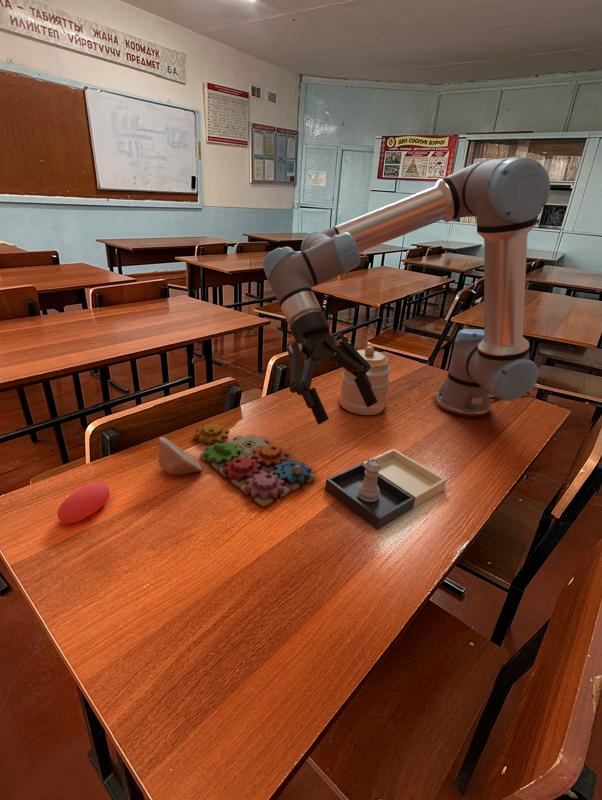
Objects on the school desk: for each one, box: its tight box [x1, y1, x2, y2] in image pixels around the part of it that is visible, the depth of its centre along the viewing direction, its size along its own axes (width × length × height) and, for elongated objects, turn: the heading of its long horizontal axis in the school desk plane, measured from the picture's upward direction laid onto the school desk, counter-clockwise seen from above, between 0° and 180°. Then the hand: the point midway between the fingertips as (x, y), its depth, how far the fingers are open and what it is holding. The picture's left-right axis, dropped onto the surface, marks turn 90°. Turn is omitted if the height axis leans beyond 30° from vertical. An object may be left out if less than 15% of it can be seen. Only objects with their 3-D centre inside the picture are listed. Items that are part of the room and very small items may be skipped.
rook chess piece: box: [357, 458, 381, 503], centre depth 84 cm, size 4×4×8 cm
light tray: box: [362, 448, 447, 509], centre depth 92 cm, size 10×14×2 cm
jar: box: [339, 345, 392, 416], centre depth 120 cm, size 13×13×18 cm
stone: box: [158, 436, 203, 476], centre depth 88 cm, size 10×7×10 cm
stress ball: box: [56, 481, 111, 524], centre depth 76 cm, size 5×9×6 cm, turn 145°
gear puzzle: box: [193, 423, 316, 507], centre depth 94 cm, size 31×16×4 cm, turn 45°
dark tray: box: [324, 462, 415, 530], centre depth 85 cm, size 10×14×2 cm
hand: (349, 413), depth 86 cm, fingers open, 13 cm apart
